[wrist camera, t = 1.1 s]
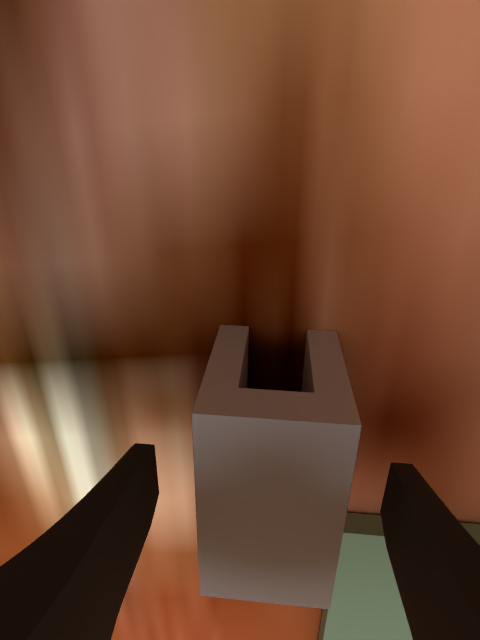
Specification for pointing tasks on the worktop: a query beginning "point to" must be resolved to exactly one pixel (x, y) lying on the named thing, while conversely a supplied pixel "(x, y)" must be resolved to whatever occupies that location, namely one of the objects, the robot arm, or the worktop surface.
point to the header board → (367, 586)
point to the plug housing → (273, 474)
